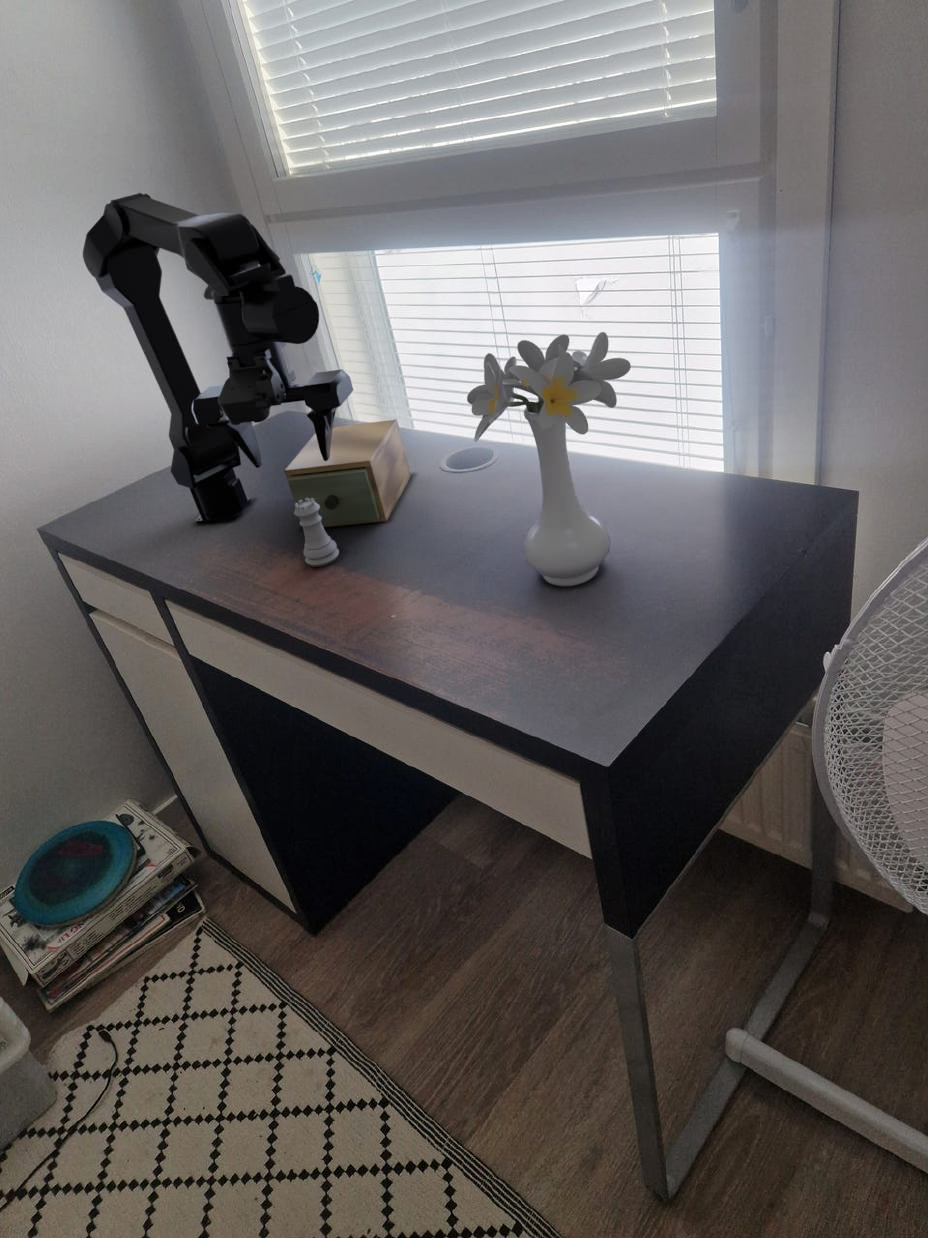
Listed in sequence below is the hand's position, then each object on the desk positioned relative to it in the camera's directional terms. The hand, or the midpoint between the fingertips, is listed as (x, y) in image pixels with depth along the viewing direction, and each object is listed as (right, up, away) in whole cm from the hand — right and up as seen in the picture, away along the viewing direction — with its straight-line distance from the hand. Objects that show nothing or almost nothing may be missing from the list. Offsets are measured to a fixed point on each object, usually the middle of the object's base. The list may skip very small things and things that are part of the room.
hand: (292, 463), depth 106 cm
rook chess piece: (+3, -12, +3) cm, 13 cm away
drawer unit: (+6, -3, +15) cm, 17 cm away
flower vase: (+33, -14, -11) cm, 38 cm away
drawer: (+6, -3, +13) cm, 15 cm away
